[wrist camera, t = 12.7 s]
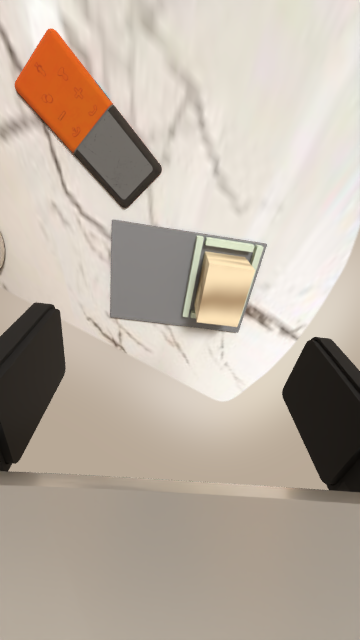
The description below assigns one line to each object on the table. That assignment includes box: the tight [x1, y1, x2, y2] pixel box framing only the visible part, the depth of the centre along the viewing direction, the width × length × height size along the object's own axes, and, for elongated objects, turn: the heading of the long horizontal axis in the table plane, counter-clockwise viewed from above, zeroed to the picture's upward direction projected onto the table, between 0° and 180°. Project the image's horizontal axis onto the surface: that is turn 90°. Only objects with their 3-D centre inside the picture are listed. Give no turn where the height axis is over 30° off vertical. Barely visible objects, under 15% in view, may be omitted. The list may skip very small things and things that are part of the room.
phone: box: [15, 29, 162, 208], centre depth 27 cm, size 6×1×15 cm
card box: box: [194, 251, 255, 327], centre depth 34 cm, size 8×6×5 cm
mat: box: [110, 220, 267, 332], centre depth 36 cm, size 20×14×2 cm
